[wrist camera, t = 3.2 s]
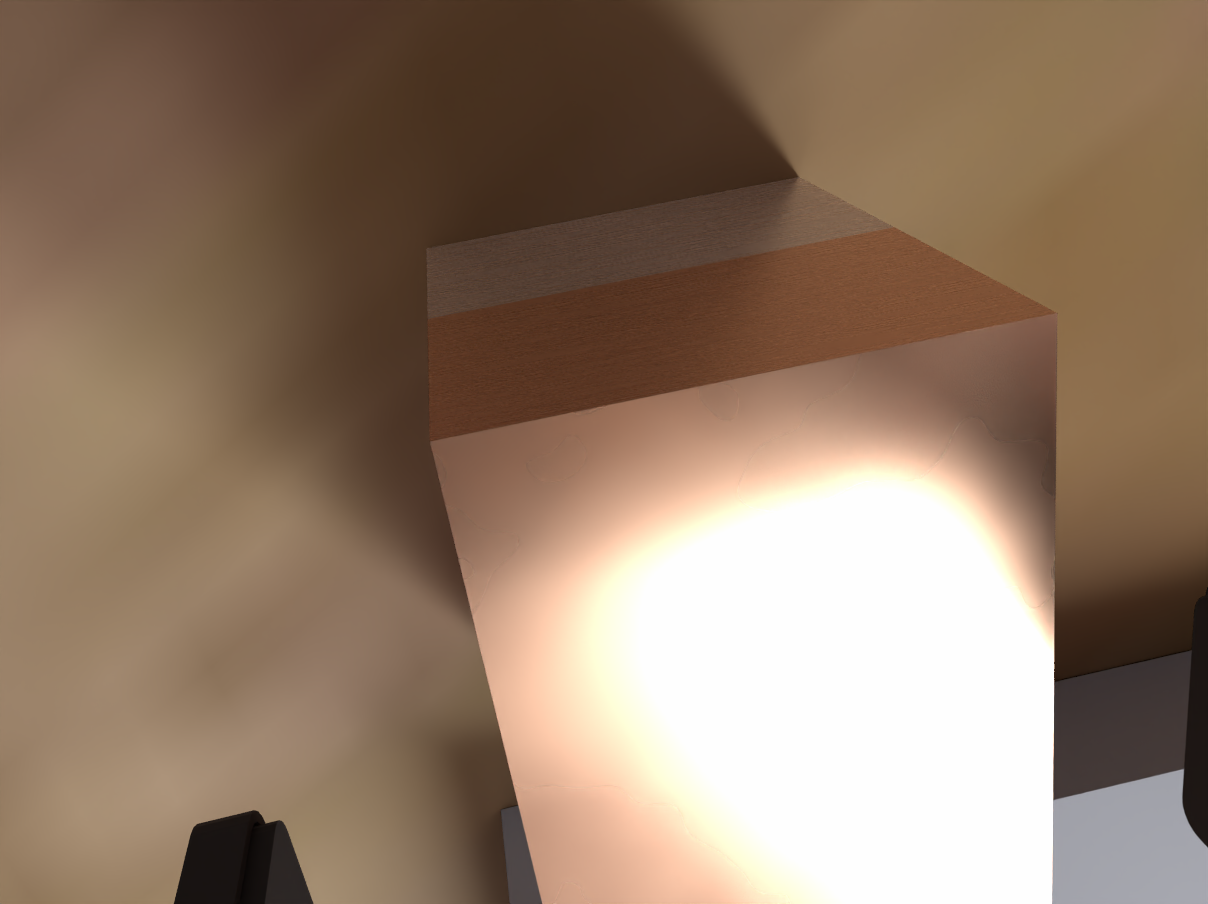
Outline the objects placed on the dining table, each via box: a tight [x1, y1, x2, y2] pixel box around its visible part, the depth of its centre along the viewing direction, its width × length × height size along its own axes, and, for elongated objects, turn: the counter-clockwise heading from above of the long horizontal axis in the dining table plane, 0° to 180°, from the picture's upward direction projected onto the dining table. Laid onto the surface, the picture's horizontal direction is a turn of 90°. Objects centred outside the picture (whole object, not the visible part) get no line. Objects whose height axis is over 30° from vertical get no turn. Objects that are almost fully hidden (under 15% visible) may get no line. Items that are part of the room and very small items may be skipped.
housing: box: [426, 177, 1057, 904], centre depth 16 cm, size 6×8×8 cm
